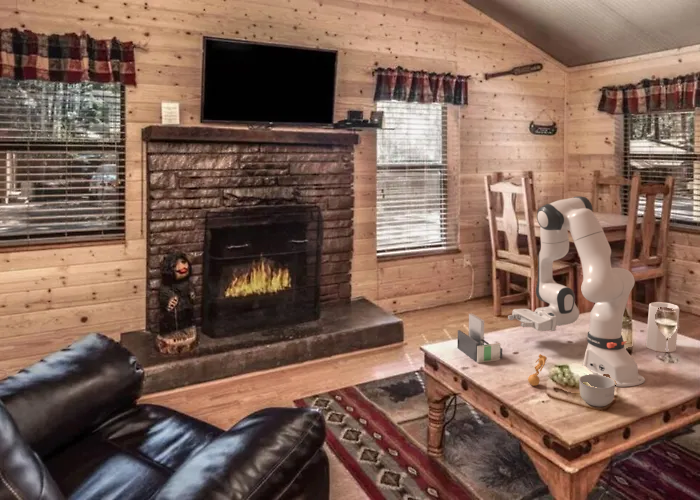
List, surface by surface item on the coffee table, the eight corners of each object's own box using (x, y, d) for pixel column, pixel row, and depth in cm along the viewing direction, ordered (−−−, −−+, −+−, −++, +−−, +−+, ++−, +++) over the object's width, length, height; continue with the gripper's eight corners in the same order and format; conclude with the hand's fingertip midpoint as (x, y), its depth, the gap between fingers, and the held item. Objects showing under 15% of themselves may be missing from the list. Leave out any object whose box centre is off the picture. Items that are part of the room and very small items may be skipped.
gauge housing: (504, 359, 212) (505, 340, 210) (478, 363, 208) (478, 344, 207) (482, 344, 228) (482, 327, 227) (457, 347, 225) (457, 330, 224)
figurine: (526, 380, 193) (527, 349, 190) (543, 380, 192) (544, 350, 189) (529, 390, 185) (531, 358, 182) (547, 391, 184) (549, 359, 181)
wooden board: (489, 356, 210) (489, 323, 207) (485, 357, 209) (486, 324, 207) (471, 344, 223) (472, 313, 221) (468, 344, 223) (468, 313, 220)
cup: (650, 341, 227) (654, 300, 224) (679, 347, 219) (683, 305, 216) (641, 348, 220) (644, 306, 216) (670, 355, 212) (675, 311, 208)
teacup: (611, 413, 167) (612, 390, 166) (575, 405, 173) (576, 382, 172) (616, 395, 179) (618, 374, 177) (582, 388, 185) (583, 367, 183)
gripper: (529, 304, 234) (501, 307, 231) (558, 317, 215) (529, 321, 211) (528, 317, 235) (501, 320, 232) (558, 332, 216) (529, 336, 212)
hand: (515, 321), depth 221 cm, fingers open, 8 cm apart
